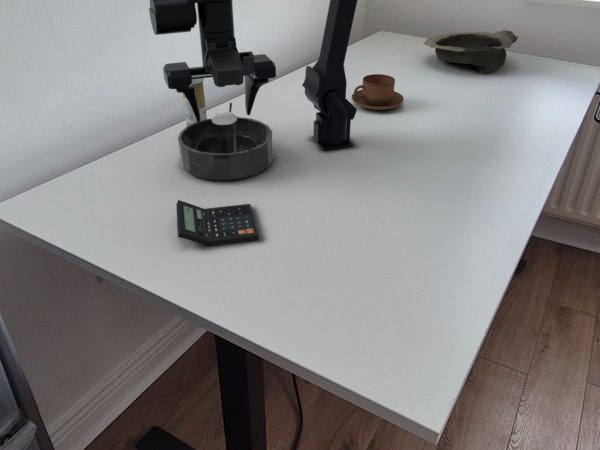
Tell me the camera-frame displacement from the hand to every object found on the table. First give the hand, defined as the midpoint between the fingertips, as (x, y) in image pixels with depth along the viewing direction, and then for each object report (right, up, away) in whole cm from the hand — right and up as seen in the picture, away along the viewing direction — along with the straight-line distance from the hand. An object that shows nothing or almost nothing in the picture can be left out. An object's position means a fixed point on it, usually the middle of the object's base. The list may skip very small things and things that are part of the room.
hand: (223, 117), depth 99 cm
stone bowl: (+61, +26, +56) cm, 87 cm away
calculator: (+1, -20, -14) cm, 25 cm away
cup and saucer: (+32, +9, +30) cm, 44 cm away
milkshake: (0, -7, +5) cm, 8 cm away
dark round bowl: (0, -7, +5) cm, 9 cm away
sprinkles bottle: (-7, -1, +15) cm, 17 cm away
